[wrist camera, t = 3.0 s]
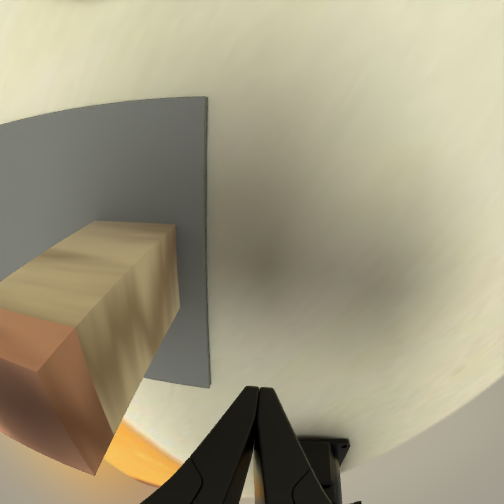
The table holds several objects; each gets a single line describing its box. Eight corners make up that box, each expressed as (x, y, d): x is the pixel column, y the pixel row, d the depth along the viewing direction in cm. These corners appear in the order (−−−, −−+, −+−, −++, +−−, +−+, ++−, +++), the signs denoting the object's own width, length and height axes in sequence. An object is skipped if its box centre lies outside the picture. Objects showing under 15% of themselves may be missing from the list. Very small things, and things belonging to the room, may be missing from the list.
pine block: (180, 307, 18) (94, 475, 8) (106, 297, 19) (-4, 429, 8) (175, 224, 17) (36, 371, 6) (94, 220, 17) (-60, 328, 6)
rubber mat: (210, 383, 21) (209, 388, 21) (19, 340, 23) (16, 343, 22) (207, 97, 14) (205, 96, 14) (-22, 131, 16) (-27, 132, 15)
